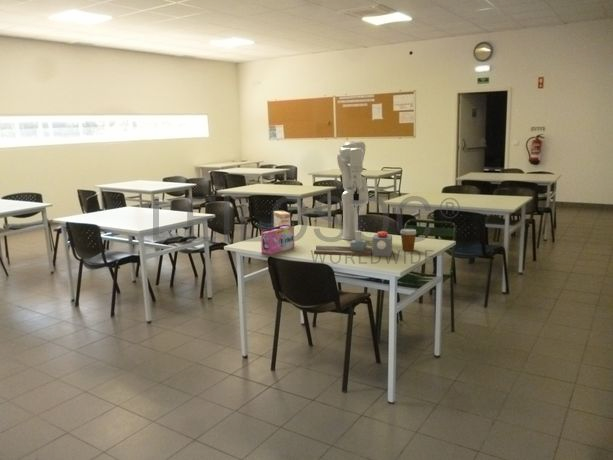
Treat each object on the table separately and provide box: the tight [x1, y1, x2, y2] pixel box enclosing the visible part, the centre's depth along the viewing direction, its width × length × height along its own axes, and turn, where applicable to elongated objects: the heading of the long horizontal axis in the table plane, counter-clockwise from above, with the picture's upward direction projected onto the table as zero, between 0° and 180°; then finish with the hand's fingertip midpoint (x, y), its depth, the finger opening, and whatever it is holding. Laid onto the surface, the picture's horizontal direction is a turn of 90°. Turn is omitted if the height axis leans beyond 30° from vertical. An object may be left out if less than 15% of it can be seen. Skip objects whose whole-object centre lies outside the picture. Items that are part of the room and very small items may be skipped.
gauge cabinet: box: [372, 233, 393, 257], centre depth 294 cm, size 12×10×10 cm
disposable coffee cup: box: [399, 228, 417, 252], centre depth 302 cm, size 10×10×12 cm
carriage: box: [349, 230, 367, 251], centre depth 297 cm, size 7×8×11 cm
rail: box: [313, 244, 373, 256], centre depth 300 cm, size 12×33×4 cm, turn 76°
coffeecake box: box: [273, 210, 291, 228], centre depth 332 cm, size 15×7×20 cm, turn 20°
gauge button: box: [377, 230, 389, 238], centre depth 294 cm, size 6×6×9 cm
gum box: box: [260, 224, 295, 255], centre depth 308 cm, size 24×8×14 cm, turn 144°
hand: (356, 200), depth 306 cm, fingers closed
